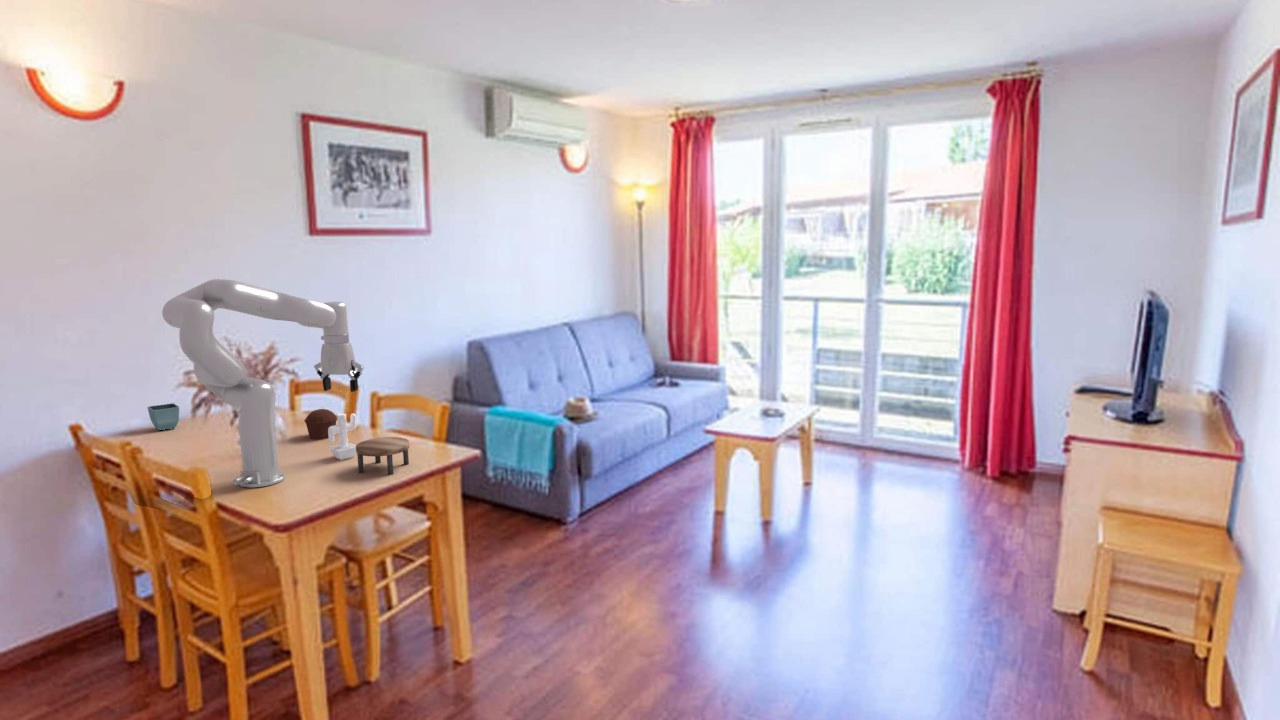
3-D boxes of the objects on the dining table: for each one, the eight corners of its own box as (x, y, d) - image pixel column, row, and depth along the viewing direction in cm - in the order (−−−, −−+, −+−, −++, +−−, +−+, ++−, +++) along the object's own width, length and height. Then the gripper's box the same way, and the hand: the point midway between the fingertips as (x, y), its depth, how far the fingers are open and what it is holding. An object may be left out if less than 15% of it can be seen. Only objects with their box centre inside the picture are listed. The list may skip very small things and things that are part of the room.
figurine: (325, 458, 235) (322, 414, 233) (353, 452, 242) (350, 409, 240) (335, 462, 231) (332, 418, 228) (363, 456, 237) (360, 413, 235)
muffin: (333, 440, 257) (331, 413, 255) (301, 441, 255) (299, 414, 253) (342, 431, 268) (340, 406, 267) (311, 432, 267) (309, 407, 265)
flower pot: (182, 429, 271) (179, 406, 269) (155, 433, 264) (152, 410, 263) (176, 425, 277) (173, 402, 275) (149, 429, 270) (146, 406, 269)
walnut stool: (394, 477, 216) (393, 452, 215) (347, 474, 219) (345, 449, 218) (419, 461, 232) (417, 438, 231) (374, 459, 235) (373, 436, 233)
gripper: (305, 340, 228) (310, 392, 231) (354, 342, 225) (358, 394, 228) (319, 337, 235) (324, 387, 238) (367, 338, 232) (371, 388, 235)
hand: (340, 390), depth 233 cm, fingers open, 9 cm apart
